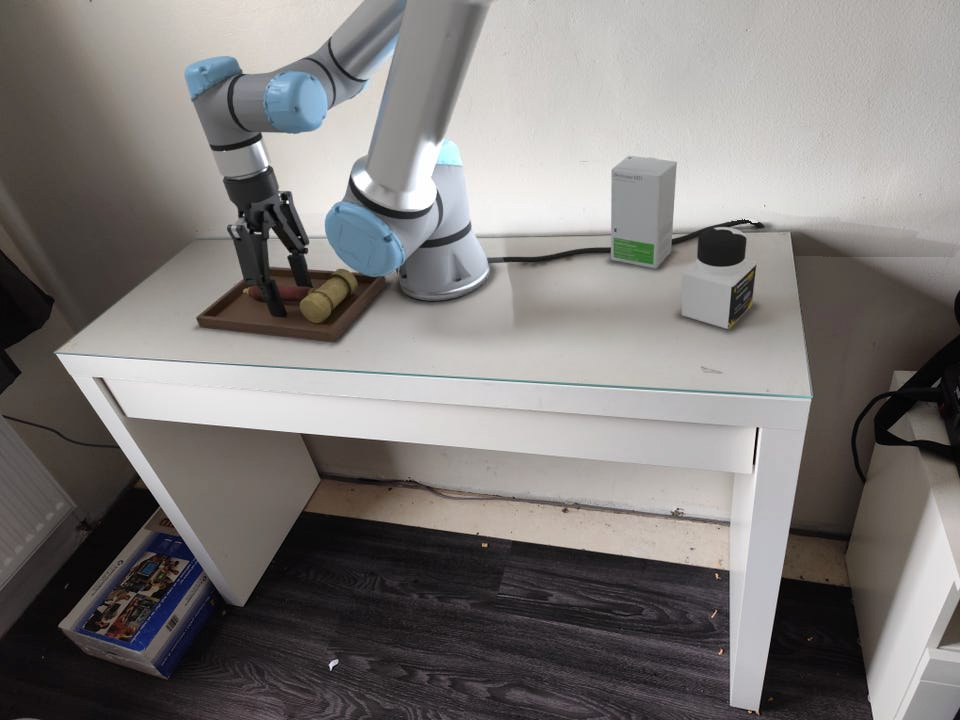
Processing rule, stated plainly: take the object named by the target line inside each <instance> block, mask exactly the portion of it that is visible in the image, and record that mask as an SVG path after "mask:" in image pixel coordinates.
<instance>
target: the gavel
mask: <svg viewBox="0 0 960 720" xmlns="http://www.w3.org/2000/svg"><path fill="white" fill-rule="evenodd" d="M334 271H335V272H334V273H333V274H331V275H330V276H329V278H328V281H326V282H325V283H324V284H323V285H322V286H321V287H320V288H310V287H300V286H277V287H278V290H279V293H280V296H281V299H282V301H294V302H301V303H300V309H301V312H302V313H303V315H304V316H305V317H306V318H307V319H308V320H309V321H311V322H313V323H317V324H319V323H322V322H323V321H324V320H325V319H326V318H327V317H328V316H329V315H330V314H331V311H332V310H333V309H334V308H335V307H336V306H337V305H338V304H339V303H340V302H341V301H342V300H343V299H344V298H347V297H349V296H350V295H351V294H352V293H354V292H355V291H356V289H357V281H356V278H355V277H354V276H353V274H352V273H351V272H352V271H349V270H347V269H345V268H337V269H336V270H334ZM243 293H244V294H247V295H248V296H251V297H253V298H255V299H258V300H263V299H262V296H261V294H260V291H259V288H258V286H253V287H249V288H248V289H244V290H243Z"/></svg>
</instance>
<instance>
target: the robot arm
mask: <svg viewBox="0 0 960 720" xmlns="http://www.w3.org/2000/svg"><path fill="white" fill-rule="evenodd" d="M497 1H498V0H363V1H362V2H361V3H360V4H359V5H358V6H357V7H356V8H355V10H353V12H352V13H350V15H349V16H348V17H347V18H346V19H345V20H344V21H343V22H342V23H341V25H340V26H338V28H336V30H335V31H334V32H333V33H332V35H331V36H330V37H329V38H328V39H326V41H324V43H323V44H322V45H321V46H320V47H319V48H318V49H317V50H316V51H314V52H313V53H311V54H309V55H307V56H304V57H302V58H299V59H297V60H296V61H293V62H291V63H289V64H286V65H284V66H282V67H279V68H278V69H274V70H272V71H268V72H264V73H263V72H262V73H244V72H243V69H242V68H241V67H240V64H239V62H238V59H236V58H235V57H233V56H230V55H221V56H214V57H209V58H205V59H201V60H198V61H195V62H193V63H190V64H188V65H187V66H186V67H185V69H184V71H183V73H184V74H183V75H184V79H185V82H186V86H187V90H188V92H189V96H190V101H191V103H192V104H193V106H194V109H195V111H196V114H197V117H198V119H199V122H200V125H201V127H202V130H203V132H204V135H205V138H206V140H207V143H208V146H209V148H210V150H211V153H212V155H213V158H214V161H215V163H216V167H217V169H218V171H219V174H220V176H222V177H223V179H222V182H223V186H224V188H225V191H226V194H227V196H228V198H229V201H230V202H231V203H232V204H233V205H234V206H235V207H236V209H237V218H238V219H237V220H236V221H235V223H233V224H228V225H227V226H226V231H227V232H228V234H229V236H230V237H231V238H230V239H232V241H233V246H234V249H235V252H236V256H237V260H238V263H239V264H238V265H239V267H240V270H241V275H242V278H243V279H244V282H245V284H246V285H252V286H258V288H259V291H260V294H261V296H262V299H263V300H264V301H266V303H267V306H268V308H269V311H270V313H271V315H273V316H282V317H285V316H286V315H287V312H286V310H285V307H284V304H283V301H282V299H281V296H280V293H279V290H278V287H277V285H276V282H275V280H272V279H270V270H269V267H270V259H269V248H268V240H269V239H270V230H272V231H273V233H274V234H275V235H276V237H277V238H278V239H279V241H280V242H281V243H282V245H283V246H284V247H285V249H286V250H287V251H288V253H289V254H288V255H287V256H286V258H287V261H288V264H289V268H291V270H292V273H293V276H294V279H295V282H296V285H297V286H300V287H310V288H313V286H312V282H311V279H310V276H309V273H308V270H307V269H309V266H308V262H307V259H306V257H305V255H307V254H309V248H308V247H306V246H309V245H310V239H309V237H308V234H307V231H306V229H305V227H304V224H303V223H302V220H301V218H300V215H299V213H298V211H297V208H296V206H295V203H294V198H293V192H292V191H290V190H280V186H279V182H278V179H277V176H276V173H275V170H274V167H273V166H271V165H270V164H271V162H272V160H271V157H270V154H269V151H268V148H267V145H266V142H265V140H264V137H263V133H274V134H275V133H278V134H287V135H288V134H289V135H290V134H293V135H298V134H301V133H310V132H314V131H316V130H318V129H319V128H321V127H322V125H323V121H324V119H325V118H326V117H327V115H328V111H330V110H331V109H332V108H334V107H336V106H338V105H340V104H343V103H344V102H346V101H348V100H352V99H353V98H355V97H357V96H358V95H359V94H361V92H362V91H364V90H366V88H367V87H368V86H369V83H370V81H371V78H372V77H373V76H374V75H375V74H376V73H377V72H378V71H379V70H381V68H382V67H384V66H385V65H386V64H387V63H388V62H389V61H391V62H390V65H389V70H388V74H387V78H386V82H385V85H384V88H383V93H382V97H381V100H380V104H379V109H378V112H377V116H376V120H375V124H374V127H373V128H374V129H373V132H372V136H371V140H370V144H369V147H368V151H367V154H366V155H363V156H360V157H359V158H358V159H356V160H355V161H354V162H353V165H352V167H351V170H350V174H349V177H348V181H347V186H346V190H345V194H344V196H343V197H342V199H341V201H338V202H337V201H336V202H335V203H334V204H333V205H332V206H331V208H330V209H329V211H328V212H327V214H326V216H325V218H324V231H325V235H326V239H327V241H328V243H329V245H330V247H331V248H332V249H333V250H334V253H335V255H336V256H337V257H338V258H339V259H340V260H341V261H342V262H343V263H344V264H345V265H346V266H348V267H349V268H350V269H352V270H354V271H355V272H356V273H361V274H364V275H367V276H372V277H378V276H385V277H386V276H388V275H390V274H392V273H393V272H394V271H396V276H398V280H399V284H400V288H401V290H402V292H404V294H406V295H407V296H408V297H411V298H413V299H416V300H421V301H427V302H428V301H429V302H433V301H436V302H437V301H446V300H451V299H456V298H460V297H462V296H465V295H468V294H471V293H472V292H474V291H476V290H477V289H478V288H480V287H482V286H483V285H484V284H485V283H486V281H487V280H488V279H489V276H490V274H491V269H490V264H507V263H522V264H523V263H524V264H525V263H526V264H527V263H529V264H530V263H532V264H533V263H544V262H550V261H555V260H559V259H564V258H568V257H569V258H570V257H573V256H580V255H587V254H589V255H590V254H611V246H609V247H608V246H607V247H606V246H605V247H604V246H603V247H602V246H600V247H599V246H597V247H595V246H594V247H583V248H575V249H570V250H565V251H561V252H557V253H552V254H547V255H540V256H491V257H487V255H486V253H485V251H484V249H483V247H482V245H481V244H480V241H479V240H478V238H477V236H476V234H475V232H474V230H473V226H472V219H471V213H470V206H469V200H468V199H469V198H468V194H467V186H466V181H465V174H464V173H465V172H464V163H463V162H462V159H461V153H460V149H459V147H458V145H457V144H456V143H455V142H453V141H451V140H449V139H445V137H446V135H447V131H448V128H449V126H450V123H451V120H452V118H453V114H454V111H455V109H456V105H457V103H458V100H459V98H460V97H459V96H460V94H461V92H462V88H463V85H464V83H465V79H466V77H467V74H468V72H469V68H470V65H471V63H472V59H473V56H474V53H475V50H476V48H477V45H478V42H479V39H480V36H481V33H482V31H483V27H484V25H485V22H486V19H487V16H488V13H489V10H490V7H491V5H492V4H493V3H494V2H497ZM741 219H742V218H741ZM736 220H737V219H736ZM730 221H731V222H729V221H725V222H722V223H718V224H714V225H710V226H706V227H704V228H701V229H698V230H695V231H693V232H690V233H688V234H685V235H682V236H678V237H675V238H672V244H671V246H674V245H677V244H680V243H681V244H682V243H684V242H689V241H691V240H694V239H696V238H698V237H699V236H700V235H701V234H702V233H703V232H704V231H706V230H708V229H712V228H717V227H728V228H733V227H736V226H740V225H748V224H747V223H750V224H749V225H752V226H754V227H756V228H757V229H764V228H765V225H764V224H763V223H762V222H760V221H759V222H758V223H752V222H751V221H749V220H745V219H744V220H743V219H742V220H737V221H733V220H730ZM260 274H261V275H262V276H261V275H260Z"/></svg>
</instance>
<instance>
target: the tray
mask: <svg viewBox="0 0 960 720" xmlns="http://www.w3.org/2000/svg"><path fill="white" fill-rule="evenodd" d="M269 270H270V279H272V280H275V282H276V285H277V286H297V285H296V282H295V279H294V276H293V273H292V270H291V267H281V266H280V267H278V266H269ZM307 270H308V273H309V276H310V279H311V282H312V286H313V288H320V287H321V286H322V285H323V284H324V283H325V282H326V281H328V278H329V276H330V275H331V274H333V273H334V272H335V271H336V270H325V269H310V268H308V269H307ZM350 272H351V273H352V274H353V276H354V277H355V278H356V281H357V289H356V291H355V292H354V293H352V294H351V295H350V296H349V297H347V298H344V299H343V300H342V301H341V302H340V303H339V304H338V305H337V306H336V307H335V308H334V309H333V310H332V311H331V314H330V315H329V316H328V317H327V318H326V319H325V320H324V321H323V322H322V323H319V324H317V323H313V322H311V321H309V320H308V319H307V318H306V317H305V316H304V315H303V313H302V312H301V309H300V303H301V302H294V301H283V304H284V307H285V310H286V312H287V315H286V316H285V317H282V316H273V315H271V313H270V311H269V308H268V306H267V303H266V301H264V300H258V299H255V298H253V297H251V296H248V295H247V294H244V293H243V290H244V289H248V288H249V287H253V286H252V285H246V284H245V282H244V278H243V279H241V280H240V281H239V282H237V283H236V284H235V285H234V286H233V287H231V288H230V289H229V290H227V291H226V292H225V293H224V294H223V295H222V296H221V297H219V298H218V299H216V300H215V301H214V302H213V303H211V305H209V306H207V308H205V309H204V310H203V311H201V313H199V314H198V315H197V316H196V317H195V319H196V322H197V324H198V326H199V328H206V329H215V330H223V331H232V332H233V331H234V332H241V333H248V334H249V333H250V334H256V335H257V334H258V335H266V336H267V335H268V336H274V337H275V336H277V337H285V338H293V339H300V340H301V339H302V340H310V341H320V342H329V343H335V342H336V341H337V340H338V338H340V336H341V335H342V334H343V333H344V332H345V331H346V330H347V329H348V327H349V326H350V325H351V324H352V323H353V322H354V321H355V320H356V318H358V316H360V314H361V313H362V312H363V311H364V310H365V309H366V308H367V307H368V305H370V303H371V302H372V301H373V300H374V299H375V298H376V297H377V295H379V293H380V292H381V291H382V290H384V288H385V287H386V285H387V284H388V283H387V280H386V279H387V278H386V276H378V277H372V276H367V275H364V274H361V273H359V272H356V271H355V272H354V271H353V272H352V271H350ZM260 275H261V274H260ZM261 276H262V275H261Z"/></svg>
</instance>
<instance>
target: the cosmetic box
mask: <svg viewBox="0 0 960 720" xmlns="http://www.w3.org/2000/svg"><path fill="white" fill-rule="evenodd" d="M677 166H678V161H674V160H667V159H660V158H655V157H649V156H648V157H644V156H637V155H626V156H625V158H623V159H622V160H621V161H620V162H619V163H617V164H616V165H615V166H614V167H612V168H611V179H610V180H611V182H610V183H611V184H610V185H611V187H610V188H611V191H610V192H611V193H610V195H611V197H610V198H611V199H610V201H611V202H610V203H611V205H610V247H611V253H610V260H611V261H613V262H620V263H624V264H630V265H635V266H639V267H645V268H649V269H655V270H657V268H658V267H660V265H661V264H662V263H663V262H664V261H665V259H666V258H667V257H668V256H669V255H670V254H671V253H672V245H671V244H672V239H673V229H674V227H673V226H674V215H675V214H674V213H675V210H674V209H675V198H676V182H677V169H678V167H677Z"/></svg>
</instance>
